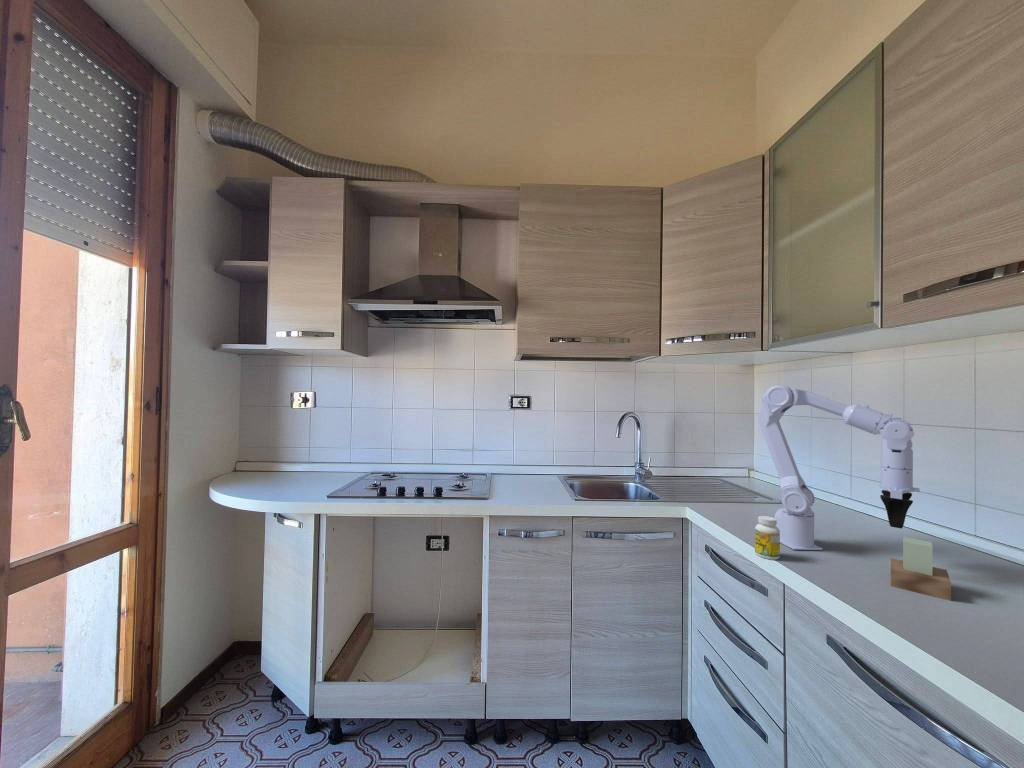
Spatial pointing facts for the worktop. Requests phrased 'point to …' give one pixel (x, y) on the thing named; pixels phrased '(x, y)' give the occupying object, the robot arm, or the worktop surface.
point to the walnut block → (921, 581)
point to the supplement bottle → (767, 538)
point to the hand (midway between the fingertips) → (896, 523)
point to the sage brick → (917, 556)
